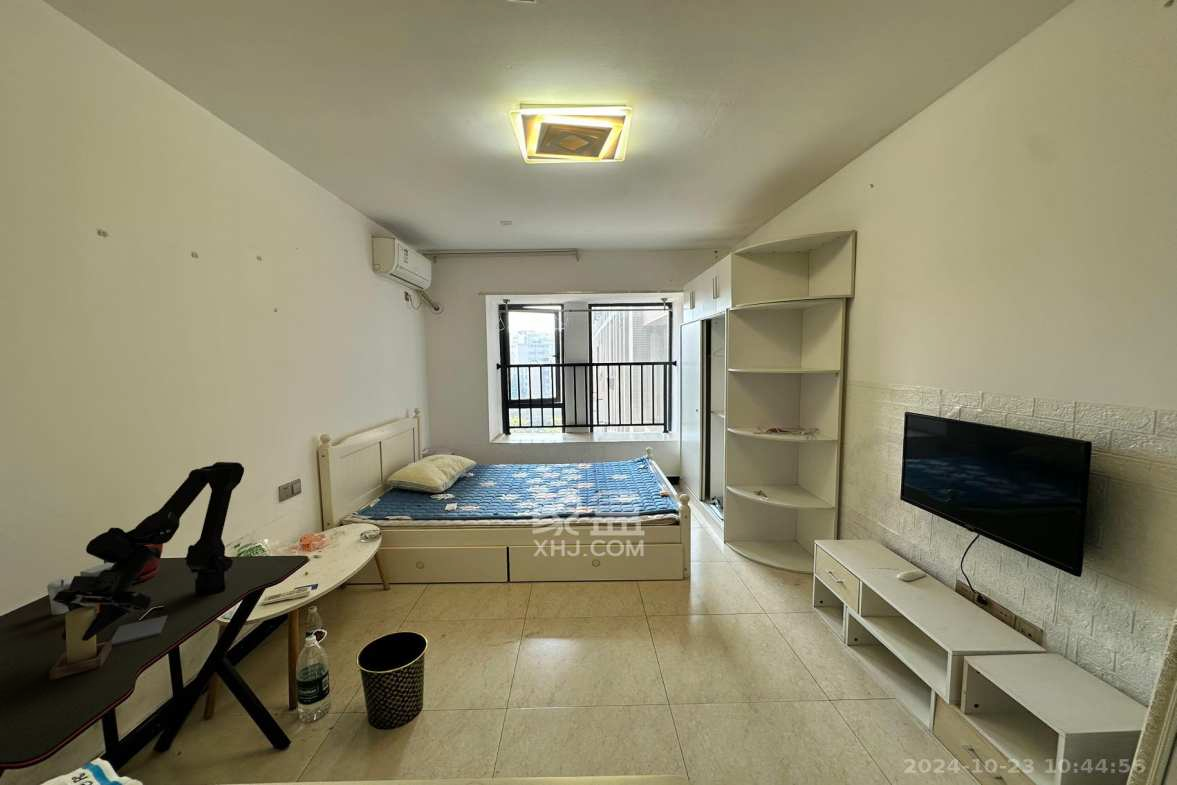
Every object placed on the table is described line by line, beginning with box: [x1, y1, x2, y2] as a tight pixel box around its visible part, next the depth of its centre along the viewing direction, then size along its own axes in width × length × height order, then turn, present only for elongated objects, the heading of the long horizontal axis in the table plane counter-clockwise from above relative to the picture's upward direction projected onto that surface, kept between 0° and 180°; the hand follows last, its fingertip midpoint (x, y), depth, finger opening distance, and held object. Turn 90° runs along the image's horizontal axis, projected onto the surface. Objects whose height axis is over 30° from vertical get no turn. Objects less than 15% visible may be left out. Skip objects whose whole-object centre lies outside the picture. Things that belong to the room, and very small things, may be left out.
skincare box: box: [79, 562, 114, 615], centre depth 120 cm, size 6×4×12 cm
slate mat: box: [110, 615, 168, 647], centre depth 111 cm, size 9×9×1 cm
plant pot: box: [103, 543, 164, 584], centre depth 137 cm, size 13×13×12 cm
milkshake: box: [46, 577, 73, 616], centre depth 118 cm, size 4×5×10 cm
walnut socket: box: [48, 640, 113, 681], centre depth 98 cm, size 8×8×2 cm
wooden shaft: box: [64, 606, 98, 665], centre depth 98 cm, size 4×4×12 cm
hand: (73, 640), depth 97 cm, fingers closed on wooden shaft, 4 cm apart
